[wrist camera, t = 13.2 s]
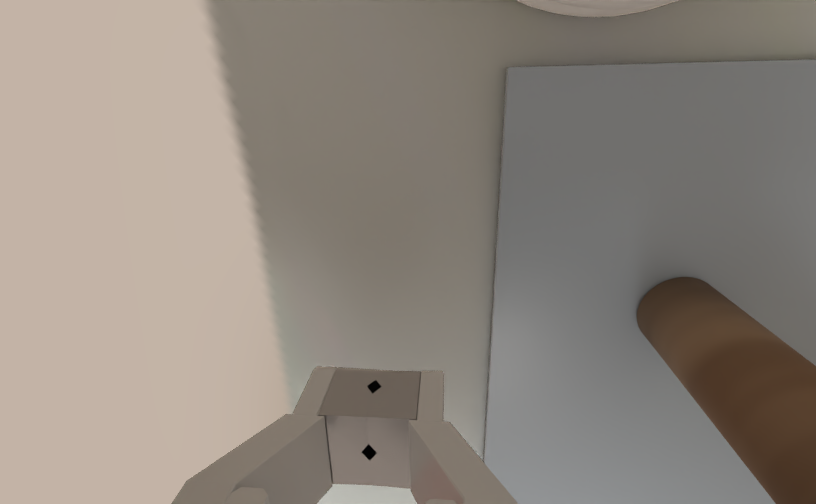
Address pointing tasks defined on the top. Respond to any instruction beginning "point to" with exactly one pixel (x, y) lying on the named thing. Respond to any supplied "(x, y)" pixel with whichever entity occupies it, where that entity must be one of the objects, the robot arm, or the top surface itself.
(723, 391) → the panel
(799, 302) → the card
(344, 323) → the top surface
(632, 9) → the coaster
